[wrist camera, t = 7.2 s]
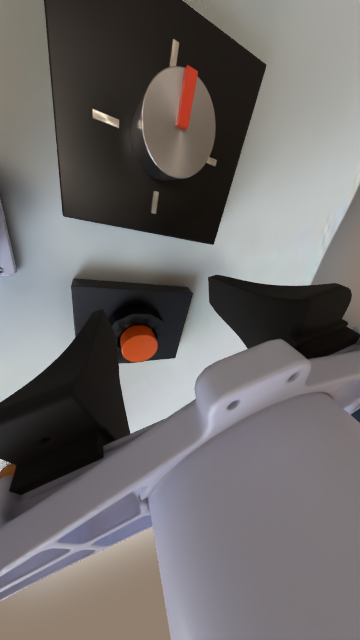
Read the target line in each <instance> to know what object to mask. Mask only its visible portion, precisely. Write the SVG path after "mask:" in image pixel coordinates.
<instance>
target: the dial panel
mask: <svg viewBox="0 0 360 640" xmlns="http://www.w3.org/2000/svg"><path fill="white" fill-rule="evenodd" d="M44 6H45V18H46V29H47V40H48V52H49V63H50V75H51V86H52V98H53V109H54V120H55V132H56V143H57V155H58V166H59V178H60V189H61V200H62V212H63V216H64V217H69V218H75V219H80V220H85V221H91V222H96V223H101V224H106V225H112V226H117V227H122V228H127V229H133V230H138V231H143V232H148V233H154V234H159V235H164V236H170V237H175V238H180V239H185V240H191V241H196V242H201V243H206V244H212V245H213V244H214V242H215V238H216V235H217V232H218V228H219V225H220V221H221V218H222V215H223V211H224V208H225V204H226V201H227V198H228V194H229V191H230V187H231V184H232V181H233V177H234V174H235V170H236V167H237V164H238V160H239V157H240V153H241V150H242V147H243V143H244V140H245V136H246V133H247V130H248V126H249V123H250V119H251V116H252V113H253V109H254V106H255V103H256V99H257V96H258V92H259V89H260V86H261V82H262V79H263V75H264V72H265V69H266V64H265V63H263V62H262V61H261V60H259V59H258V58H257V57H256V56H254V55H253V54H252V53H250V52H249V51H248V50H246V49H245V48H244V47H242V46H241V45H240V44H238V43H237V42H236V41H235V40H233V39H232V38H231V37H229V36H228V35H227V34H225V33H224V32H223V31H221V30H220V29H219V28H218V27H216V26H215V25H214V24H212V23H211V22H210V21H208V20H207V19H206V18H204V17H203V16H202V15H200V14H199V13H198V12H197V11H195V10H194V9H193V8H191V7H190V6H189V5H187V4H186V3H185V2H183V1H182V0H44ZM187 65H189V66H190V67H192V68H193V69H195V70H197V71H198V77H199V78H200V80H201V81H202V82H203V84H204V85H205V87H206V89H207V90H208V93H209V95H210V97H211V100H212V104H213V108H214V113H215V124H216V125H215V139H214V144H213V148H212V151H211V154H210V156H209V158H208V160H207V162H206V163H205V165H204V166H203V167H202V169H201V170H200V171H199V172H197V173H196V174H195V175H193V176H191V177H188V178H184V179H176V180H167V181H162V180H158V179H155V178H153V177H152V176H150V175H149V174H148V173H147V172H146V171H145V170H144V169H143V168H142V167H141V165H140V164H139V162H138V160H137V158H136V156H135V153H134V150H133V146H132V139H131V127H132V121H133V117H134V114H135V112H136V110H137V108H138V106H139V104H140V102H141V100H142V98H143V96H144V94H145V92H146V89H147V88H148V86H149V84H150V82H151V81H152V79H153V78H154V77H155V76H156V75H157V74H158V73H159V72H160V71H162V70H163V69H165V68H167V67H172V66H180V67H184V68H185V67H186V66H187Z"/></svg>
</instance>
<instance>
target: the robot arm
mask: <svg viewBox="0 0 360 640" xmlns="http://www.w3.org/2000/svg"><path fill="white" fill-rule="evenodd" d="M0 267H1V268H3V270H4V271H0V275H1V276H13V275H14V274H15V273H16V272H17V268H16V264H15V260H14V255H13V251H12V247H11V242H10V238H9V233H8V229H7V225H6V220H5V216H4V211H3V207H2V203H1V198H0ZM208 281H209V302H210V304H211V305H212V307H213V308H214V310H215V311H216V312H217V314H218V315H219V316H220V317H221V318H222V319H223V320H224V321H225V322H226V323H227V324H228V325H229V326H230V327H231V328H232V329H233V330H234V331H235V333H236V334H237V335H238V336H239V337H240V339H241V340H242V341H243V343H244V344H245V345H246V347H247V348H248V349H247V350H244V351H242V352H239V353H237V354H234V355H232V356H229V357H227V358H224V359H222V360H219V361H217V362H215V363H213V364H212V365H210V366H208V367H207V368H205V369H204V371H203V372H202V373H201V374H200V375H199V376H198V378H197V380H196V384H195V388H194V389H195V395H196V399H195V400H193V401H192V402H190V403H189V404H187V405H186V406H184V407H183V408H181V409H180V410H178V411H177V412H175V413H174V414H172V415H171V416H169V417H168V418H166V419H163V420H161V421H159V422H157V423H154V424H152V425H150V426H147V427H145V428H143V429H141V430H138V431H136V432H134V433H132V434H130V430H129V426H128V421H127V416H126V412H125V407H124V401H123V396H122V391H121V385H120V379H119V365H118V348H117V342H116V337H115V333H114V331H113V329H112V327H111V325H110V323H109V321H108V318H107V316H106V314H105V312H104V310H103V309H101V310H98V311H94V312H92V314H91V315H90V317H89V319H88V320H87V322H86V323H85V325H84V326H83V328H82V329H81V331H80V332H79V334H78V335H77V336H76V338H75V339H74V340H73V342H72V343H71V344H70V345H69V347H68V348H67V349H66V350H65V351H64V352H63V353H62V354H61V355H60V356H59V357H58V358H57V359H56V360H55V361H54V362H53V363H52V364H51V365H50V366H49V367H47V368H46V369H45V370H44V371H43V372H42V373H41V374H39V375H38V376H37V377H36V378H34V379H33V380H32V381H30V382H29V383H28V384H26V385H25V386H24V387H22V388H21V389H20V390H18V391H17V392H15V393H14V394H12V395H11V396H9V397H8V398H6V399H5V400H3V401H2V402H0V459H3V460H5V461H7V462H10V463H12V464H14V465H16V468H15V472H14V475H13V476H9V477H3V478H0V601H2V600H4V599H5V598H7V597H9V596H11V595H13V594H15V593H17V592H19V591H21V590H22V589H24V588H26V587H28V586H30V585H32V584H34V583H36V582H38V581H40V580H42V579H44V578H46V577H48V576H50V575H52V574H54V573H56V572H58V571H60V570H62V569H64V568H66V567H68V566H70V565H73V564H74V563H77V562H79V561H81V560H83V559H85V558H87V557H89V556H91V555H93V554H96V553H98V552H100V551H102V550H104V549H106V548H108V547H110V546H112V545H114V544H117V543H119V542H121V541H123V540H125V539H127V538H129V537H132V536H134V535H136V534H138V533H140V532H142V531H144V530H146V529H148V528H150V527H153V531H154V532H153V533H154V539H155V545H156V551H157V557H158V563H159V569H160V575H161V581H162V587H163V593H164V600H165V606H166V612H167V618H168V624H169V630H170V636H171V640H360V423H359V422H358V421H356V420H355V419H354V418H353V417H352V416H351V415H350V414H351V413H353V412H355V411H356V410H358V409H359V408H360V324H359V325H357V326H355V327H354V328H353V329H352V330H351V329H350V328H348V327H346V326H347V325H348V322H346V321H345V320H343V319H342V317H343V315H344V314H345V312H346V310H347V308H348V306H349V303H350V301H351V296H352V294H351V290H350V289H349V288H347V287H345V286H342V285H340V284H336V283H332V284H322V285H309V286H279V285H267V284H259V283H253V282H248V281H243V280H239V279H235V278H230V277H226V276H221V275H214V276H211V277H208Z"/></svg>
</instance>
